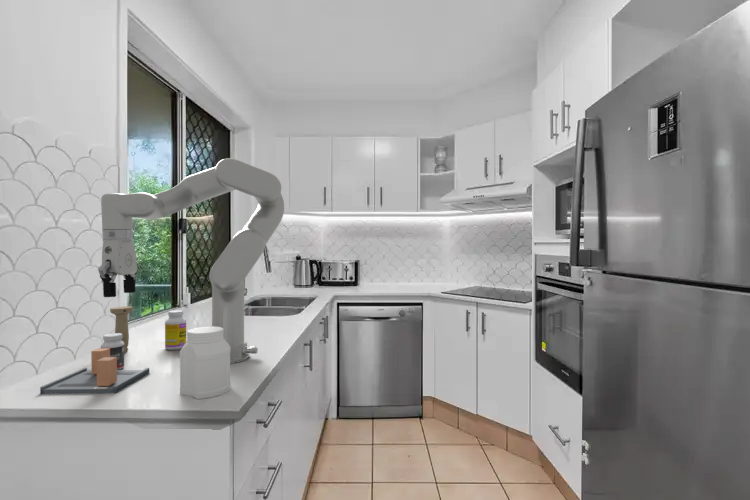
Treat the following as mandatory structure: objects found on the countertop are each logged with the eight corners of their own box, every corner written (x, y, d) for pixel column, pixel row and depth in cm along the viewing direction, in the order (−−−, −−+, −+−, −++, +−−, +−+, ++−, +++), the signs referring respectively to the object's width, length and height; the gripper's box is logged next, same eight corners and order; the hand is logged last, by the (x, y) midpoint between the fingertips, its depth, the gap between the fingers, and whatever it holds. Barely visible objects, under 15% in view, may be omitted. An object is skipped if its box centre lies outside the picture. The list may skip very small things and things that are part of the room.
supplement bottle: (180, 350, 138) (180, 312, 138) (161, 350, 138) (160, 312, 138) (189, 345, 145) (189, 309, 145) (171, 345, 145) (171, 309, 145)
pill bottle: (99, 373, 114) (99, 337, 114) (102, 367, 119) (102, 333, 119) (123, 370, 116) (123, 335, 116) (125, 365, 121) (125, 331, 121)
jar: (173, 392, 99) (172, 330, 99) (206, 381, 107) (206, 324, 107) (204, 401, 93) (204, 336, 93) (237, 388, 101) (237, 328, 101)
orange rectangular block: (110, 370, 111) (109, 348, 111) (102, 374, 108) (102, 351, 108) (99, 370, 111) (98, 348, 111) (91, 374, 108) (91, 351, 108)
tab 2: (116, 381, 103) (116, 357, 103) (109, 385, 100) (109, 360, 100) (104, 381, 103) (104, 357, 102) (96, 385, 100) (96, 360, 99)
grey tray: (149, 373, 113) (149, 367, 113) (115, 393, 98) (115, 386, 98) (83, 374, 113) (83, 368, 113) (40, 393, 98) (40, 387, 98)
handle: (135, 351, 136) (135, 307, 136) (114, 355, 131) (113, 309, 131) (129, 349, 139) (128, 305, 139) (108, 353, 134) (107, 308, 134)
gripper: (113, 235, 110) (115, 298, 110) (146, 236, 127) (148, 290, 128) (84, 236, 110) (87, 299, 110) (122, 237, 127) (124, 291, 128)
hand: (120, 294), depth 119 cm, fingers open, 9 cm apart
